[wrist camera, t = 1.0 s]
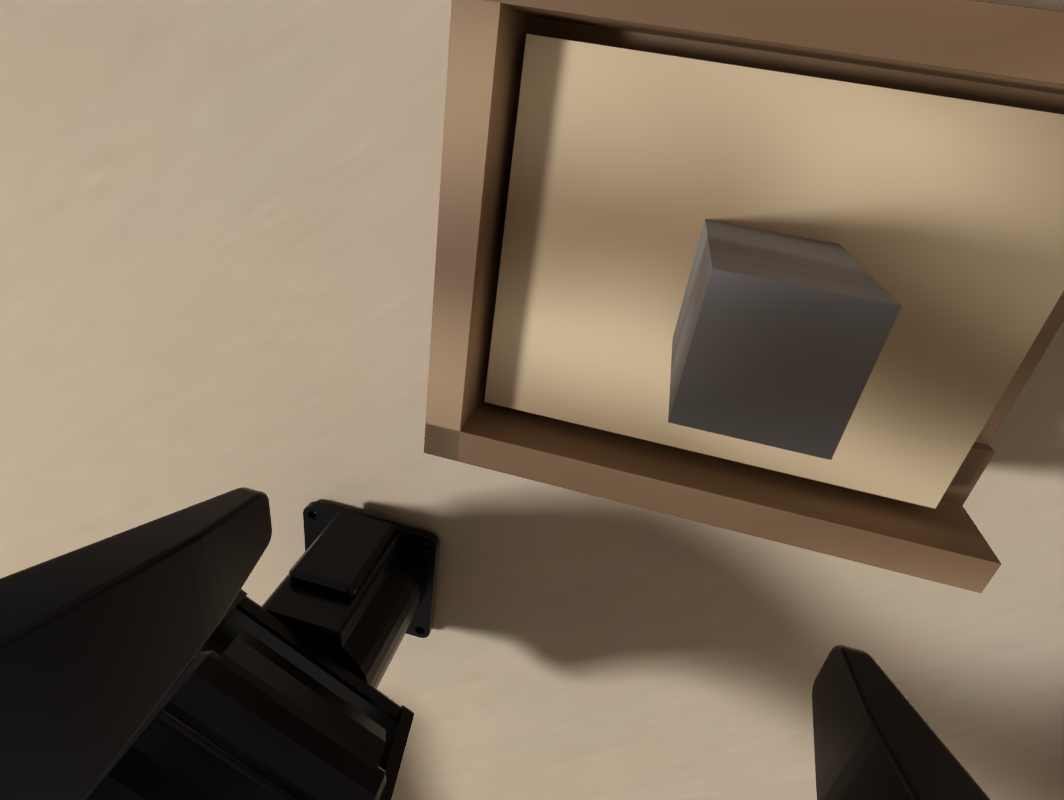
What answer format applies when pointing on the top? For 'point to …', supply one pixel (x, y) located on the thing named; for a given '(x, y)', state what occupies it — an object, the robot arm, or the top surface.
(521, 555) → the top surface
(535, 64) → the oak lid
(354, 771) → the robot arm
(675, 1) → the walnut box
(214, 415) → the top surface
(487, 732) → the top surface
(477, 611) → the top surface
